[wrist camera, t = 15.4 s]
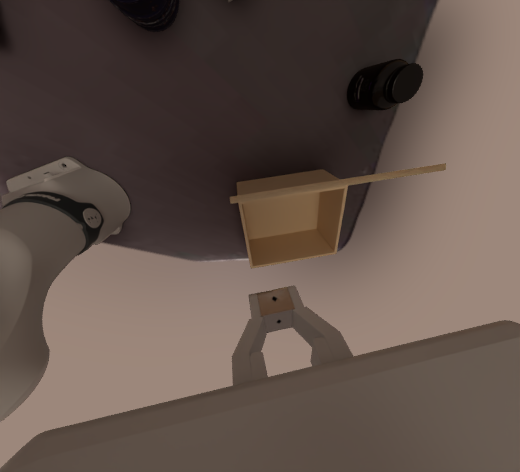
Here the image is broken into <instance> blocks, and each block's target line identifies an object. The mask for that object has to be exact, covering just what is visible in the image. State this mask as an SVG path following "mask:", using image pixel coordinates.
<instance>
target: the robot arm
mask: <svg viewBox="0 0 520 472" xmlns="http://www.w3.org/2000/svg"><path fill="white" fill-rule="evenodd" d="M64 164H65V165H66V166H67V167H66V166H65V165H64ZM7 187H8V190H9V192H10V193H8V194H5V195H3V196H2V198H1V201H2V204H3V206H4V207H3V208H2V209H0V422H1V421H2V420H4V419H5V418H6V417H7V416H9V415H10V414H11V413H12V412H13V411H15V410H16V408H18V407H19V406H20V405H21V404H22V403H23V402H24V401H25V400H26V399H27V398H28V397H29V395H30V394H31V393H32V392H33V390H34V389H35V388H36V386H37V385H38V383H39V382H40V380H41V378H42V377H43V374H44V373H45V370H46V368H47V365H48V361H49V347H48V345H47V343H46V340H45V337H44V333H43V327H42V313H43V306H44V302H45V298H46V295H47V292H48V290H49V288H50V286H51V284H52V282H53V281H54V279H55V278H56V277H57V276H58V275H59V273H60V272H61V271H62V270H63V269H64V268H65V266H67V264H68V263H69V262H70V261H71V260H72V259H73V258H74V257H75V256H77V255H79V254H81V253H83V252H84V251H86V250H87V249H89V248H90V247H91V246H92V245H93V244H95V245H97V244H100V243H101V242H102V241H103V240H105V239H106V238H107V237H108V236H110V235H111V234H118V233H120V232H121V230H122V224H123V222H124V221H125V220H126V219H127V218H128V216H129V214H130V201H129V199H128V196H127V195H126V193H125V191H124V190H123V189H122V188H121V187H120V186H119V185H118V184H117V183H116V182H115V181H114V180H113V179H111V178H110V177H108V176H106V175H105V174H103V173H101V172H98V171H96V170H93V169H90V168H88V167H86V166H85V165H83V164H82V163H80V162H79V161H77V160H76V159H74V158H72V157H64V158H62V159H59V160H57V161H54V162H52V163H49V164H47V165H44V166H41V167H39V168H36V169H34V170H31V171H29V172H26V173H24V174H21V175H19V176H16V177H14V178H11V179H9V180H7ZM249 302H250V310H251V317H252V319H249V321H248V323H247V326H246V328H245V330H244V332H243V334H242V336H241V338H240V341H239V343H238V345H237V347H236V349H235V351H234V353H233V356H232V371H233V386H230V387H226V388H222V389H218V390H213V391H210V392H206V393H201V394H197V395H193V396H189V397H185V398H181V399H177V400H173V401H168V402H164V403H160V404H156V405H152V406H147V407H143V408H139V409H135V410H131V411H127V412H123V413H119V414H115V415H111V416H106V417H102V418H98V419H95V420H90V421H86V422H82V423H78V424H74V425H70V426H65V427H61V428H57V429H52V430H49V431H45V432H43V433H40V434H38V435H37V436H35V437H34V438H33V439H31V440H30V441H29V442H28V443H27V444H26V445H25V446H23V447H22V448H21V449H20V450H19V451H18V452H17V453H16V454H15V455H14V456H13V457H12V458H11V459H10V460H9V461H8V462H7V463H5V464H4V465H3V466H2V467H1V468H0V472H520V324H518V323H516V322H512V321H506V320H505V321H498V322H494V323H490V324H486V325H482V326H477V327H473V328H469V329H465V330H461V331H457V332H453V333H448V334H444V335H440V336H436V337H432V338H428V339H424V340H420V341H415V342H411V343H407V344H403V345H399V346H395V347H391V348H387V349H383V350H378V351H374V352H370V353H366V354H362V355H358V356H354V357H353V355H352V353H351V351H350V349H349V347H348V346H347V344H346V342H345V340H344V338H343V336H342V335H341V333H340V331H338V330H337V329H336V328H334V327H333V326H331V325H330V324H329V323H327V322H326V321H325V320H323V319H322V318H321V317H319V316H318V315H317V314H315V313H314V312H313V311H311V310H310V309H309V308H307V307H304V305H303V303H302V301H301V298H300V296H299V294H298V291H297V289H296V287H295V286H289V287H284V288H279V289H275V290H272V291H266V292H261V293H255V294H251V295H249ZM291 327H293V328H294V329H295V330H296V331H297V332H298V333H299V334H300V335H301V336H302V337H303V338H304V339H305V340H306V341H307V342H308V343H309V345H310V346H311V347H312V355H311V364H312V367H308V368H304V369H300V370H296V371H292V372H287V373H283V374H279V375H275V376H271V377H268V376H267V371H266V366H265V362H264V357H263V353H262V352H261V350H262V347H263V344H264V341H265V338H266V333H269V332H272V331H277V330H281V329H286V328H291Z"/></svg>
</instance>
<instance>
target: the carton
mask: <svg viewBox="0 0 520 472" xmlns="http://www.w3.org/2000/svg"><path fill="white" fill-rule="evenodd" d="M336 180H339V179H338V178H336V177H335V176H333V175H331V174H330V173H328V172H327V171H325V170H324V169H321V170H314V171H308V172H301V173H294V174H288V175H281V176H275V177H268V178H261V179H255V180H248V181H242V182H236V183H237V195H238V196H239V195H245V194H252V193H258V192H265V191H271V190H278V189H284V188H290V187H297V186H303V185H310V184H316V183H323V182H329V181H336ZM347 188H348V185H347V186H340V187H334V188H328V189H321V190H315V191H308V192H302V193H296V194H289V195H283V196H276V197H270V198H264V199H257V200H251V201H245V202H238V204H239V209H240V215H241V220H242V225H243V230H244V235H245V241H246V246H247V251H248V256H249V261H250V267H251V268H256V267H263V266H268V265H274V264H280V263H286V262H291V261H297V260H303V259H309V258H314V257H320V256H326V255H332V254H336V252H337V246H338V241H339V235H340V229H341V223H342V217H343V211H344V206H345V200H346V194H347Z"/></svg>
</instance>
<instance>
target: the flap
mask: <svg viewBox="0 0 520 472" xmlns="http://www.w3.org/2000/svg"><path fill="white" fill-rule="evenodd" d="M445 169H446V164H439V165H433V166H426V167H420V168H413V169H407V170H400V171H394V172H387V173H381V174H374V175H368V176H361V177H355V178H349V179H342V180H336V181H329V182H323V183H316V184H310V185H303V186H297V187H290V188H284V189H278V190H271V191H265V192H258V193H252V194H245V195H239V196H232V197H230V202H231V204H232V203H238V202H245V201H251V200H257V199H264V198H270V197H276V196H283V195H289V194H296V193H302V192H308V191H315V190H321V189H328V188H334V187H340V186H347V185H353V184H359V183H366V182H372V181H378V180H385V179H391V178H397V177H404V176H411V175H417V174H423V173H429V172H435V171H442V170H445Z"/></svg>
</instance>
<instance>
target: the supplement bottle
mask: <svg viewBox="0 0 520 472" xmlns="http://www.w3.org/2000/svg"><path fill="white" fill-rule="evenodd" d="M422 79H423V70H422V68H421V66H419V64H416V63H414V64H413V63H412V64H408V62H407V61H405V60H403V59H395V60H391V61H387V62H384V63H380V64H377V65H373V66H370V67H366V68H364V69H362V70H360V71H359V72H358V73H357V74H356V75H355V76H354V77H353V79H352V81H351V83H350V85H349V88H348V101H349V104H350V105H351V106H352V107H353V108H355V109H358V110H387V109H390V108H392V107H394V106H395V105H396V104H398V103H403V102H406V101H408V100H409V99H411V98H412V97H413V96H414V95H415V94H416V92H417V91H418V90H419V87H420V86H421V83H422Z"/></svg>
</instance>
